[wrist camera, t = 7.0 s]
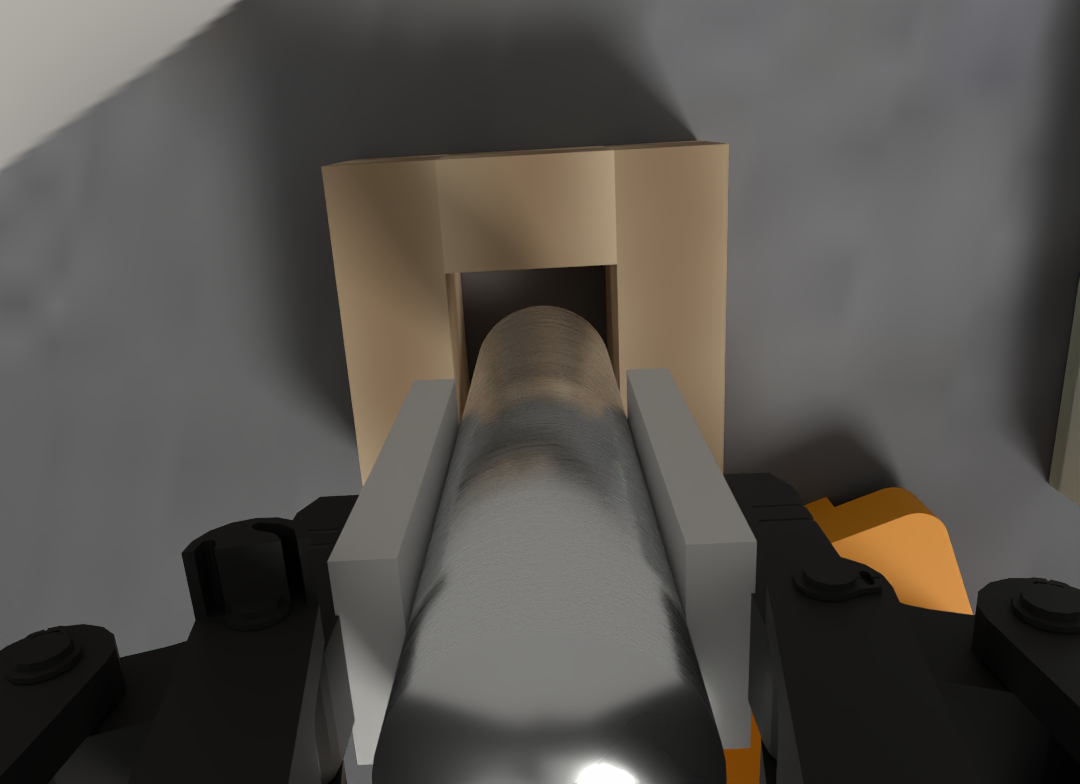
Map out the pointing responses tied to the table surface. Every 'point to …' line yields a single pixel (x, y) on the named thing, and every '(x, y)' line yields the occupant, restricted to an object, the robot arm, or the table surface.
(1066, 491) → the tray
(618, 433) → the cylinder
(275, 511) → the table surface
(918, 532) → the bracket
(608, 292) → the bore block
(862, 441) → the table surface
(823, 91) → the table surface
